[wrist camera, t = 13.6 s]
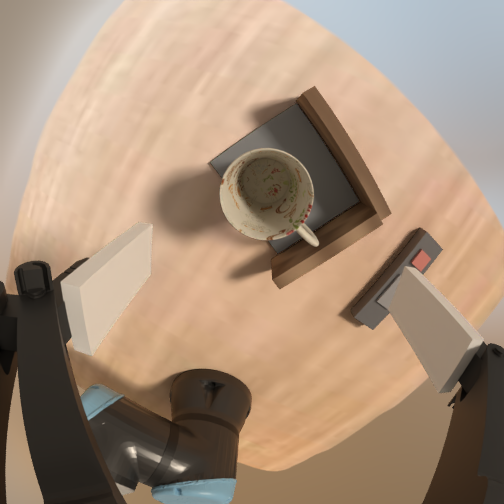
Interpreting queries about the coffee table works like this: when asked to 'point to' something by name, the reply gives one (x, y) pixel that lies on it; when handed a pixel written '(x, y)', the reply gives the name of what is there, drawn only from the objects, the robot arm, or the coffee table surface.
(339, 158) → the brown corner wall
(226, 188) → the mug
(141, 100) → the coffee table surface
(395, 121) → the coffee table surface
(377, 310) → the remote
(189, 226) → the coffee table surface
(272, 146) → the mat
